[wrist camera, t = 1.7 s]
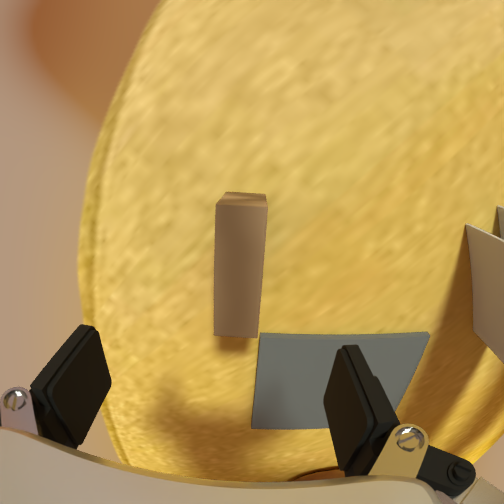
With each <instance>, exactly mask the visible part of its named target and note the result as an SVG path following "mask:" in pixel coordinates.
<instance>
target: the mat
mask: <svg viewBox="0 0 504 504" xmlns="http://www.w3.org/2000/svg"><path fill="white" fill-rule="evenodd" d="M429 338H430V335H429V333H428V332H414V333H394V334H361V335H312V334H278V333H260V342H259V353H258V363H257V374H256V384H255V394H254V404H253V414H252V423H251V429H321V428H329V425H328V421H327V417H326V413H325V409H324V405H323V398H324V394H325V391H326V388H327V384H328V381H329V377H330V374H331V370H332V367H333V363H334V360H335V356H336V352H337V350H338V349H341V348H342V346H343V345H358V346H359V348H360V350H361V351H362V353H363V355H364V357H365V360H366V362H367V364H368V366H369V368H370V370H371V372H372V374H373V376H376V377H378V379H379V381H380V383H381V385H382V387H383V389H384V391H385V393H386V395H387V397H388V399H389V401H390V403H391V405H392V407H393V410H394V412H395V411H396V409H397V407H398V405H399V403H400V401H401V399H402V397H403V395H404V393H405V391H406V389H407V387H408V385H409V383H410V381H411V379H412V377H413V375H414V373H415V371H416V368H417V366H418V364H419V362H420V359H421V357H422V355H423V352H424V350H425V348H426V345H427V343H428V340H429Z"/></svg>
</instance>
